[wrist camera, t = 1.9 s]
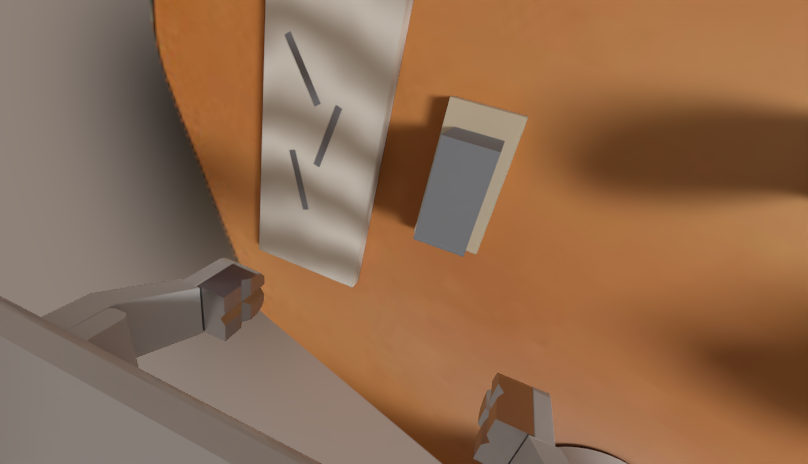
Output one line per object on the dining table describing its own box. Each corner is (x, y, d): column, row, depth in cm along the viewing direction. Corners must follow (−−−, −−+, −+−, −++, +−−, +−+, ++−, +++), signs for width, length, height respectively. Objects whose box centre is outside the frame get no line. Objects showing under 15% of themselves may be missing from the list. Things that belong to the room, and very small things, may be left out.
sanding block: (478, 245, 32) (468, 283, 26) (419, 224, 33) (395, 255, 27) (527, 115, 26) (528, 125, 20) (454, 95, 27) (435, 99, 21)
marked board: (358, 280, 38) (351, 287, 36) (267, 244, 40) (258, 249, 39) (424, -54, 24) (417, -62, 23) (280, -81, 26) (267, -90, 25)
